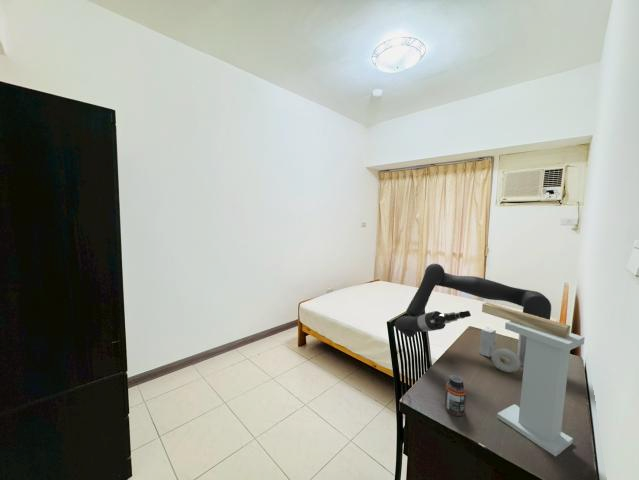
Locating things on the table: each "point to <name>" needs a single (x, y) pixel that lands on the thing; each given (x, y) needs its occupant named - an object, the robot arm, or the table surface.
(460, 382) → the supplement bottle
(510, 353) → the donut
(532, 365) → the stand
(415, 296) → the robot arm
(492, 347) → the skincare box
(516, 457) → the table surface
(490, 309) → the beige block
